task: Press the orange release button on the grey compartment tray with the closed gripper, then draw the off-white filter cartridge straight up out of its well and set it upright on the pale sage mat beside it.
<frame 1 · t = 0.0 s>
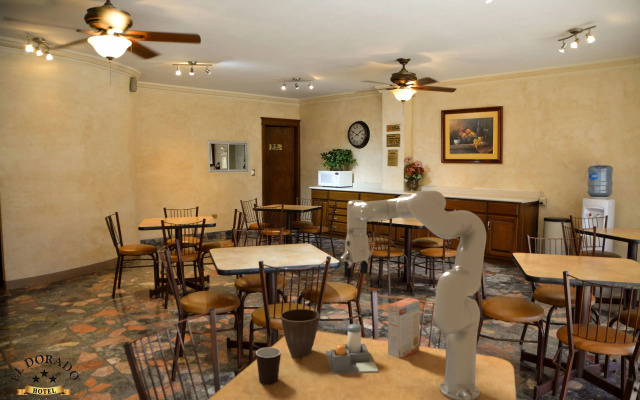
hand: (356, 275, 182), 31 cm above the table, tool pointing down, fingers open, 9 cm apart
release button: (340, 351, 168), point 7 cm above the table, slide at 0.0 cm
filter cartridge: (354, 356, 178), point 1 cm above the table, touching grey compartment tray
plant pot: (299, 355, 182), on the table
coffee mug: (270, 379, 162), on the table
grey compartment tray: (350, 363, 174), on the table
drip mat: (366, 370, 169), resting on grey compartment tray
cracker box: (403, 353, 184), on the table
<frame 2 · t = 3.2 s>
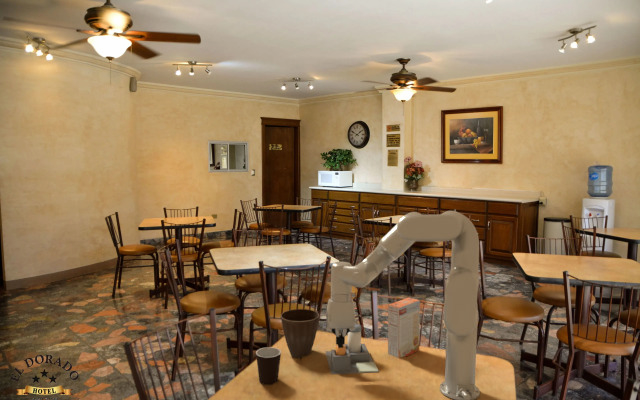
hand: (340, 346, 168), 9 cm above the table, tool pointing down, fingers closed
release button: (340, 351, 168), point 7 cm above the table, slide at 0.1 cm, touching gripper
everything else where it was.
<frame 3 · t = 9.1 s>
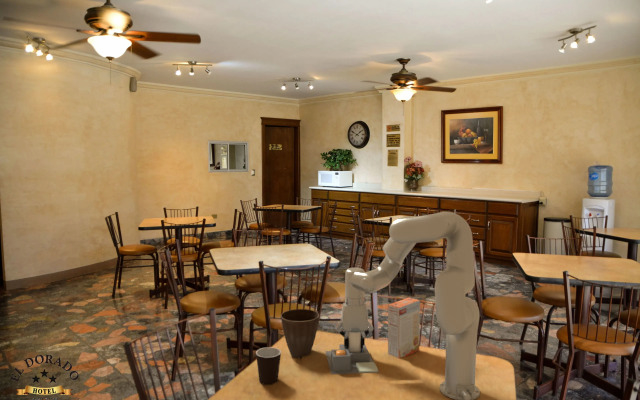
hand: (354, 346, 178), 5 cm above the table, tool pointing down, fingers closed on filter cartridge, 5 cm apart
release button: (340, 357, 168), point 5 cm above the table, slide at 2.1 cm
filter cartridge: (354, 356, 178), point 1 cm above the table, touching grey compartment tray, gripper
everything else where it was.
when the fingers open (7 cm above the table, at t = 15.2 s): filter cartridge drops 1 cm, resting on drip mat.
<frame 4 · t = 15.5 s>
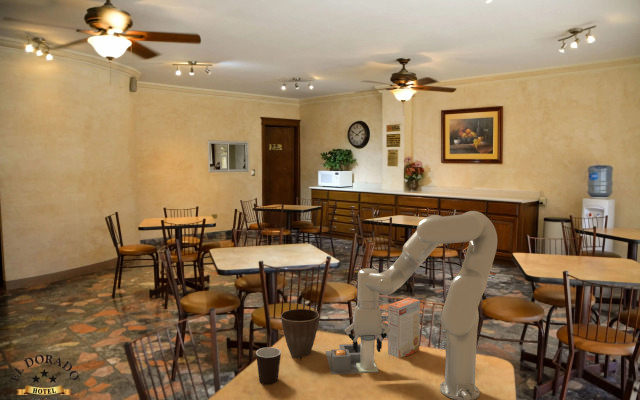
hand: (367, 350, 168), 7 cm above the table, tool pointing down, fingers open, 7 cm apart
filter cartridge: (367, 366, 169), point 2 cm above the table, touching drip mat
everything else where it was.
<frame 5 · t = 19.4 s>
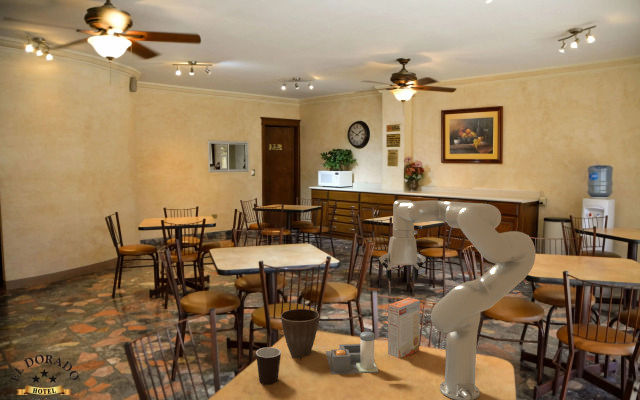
hand: (402, 279, 171), 32 cm above the table, tool pointing down, fingers open, 9 cm apart
nothing on the table moved.
at the end: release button slide at 2.1 cm; filter cartridge 0.0 cm from the target spot, point 1.5 cm above the table; filter cartridge tilted 0° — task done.
